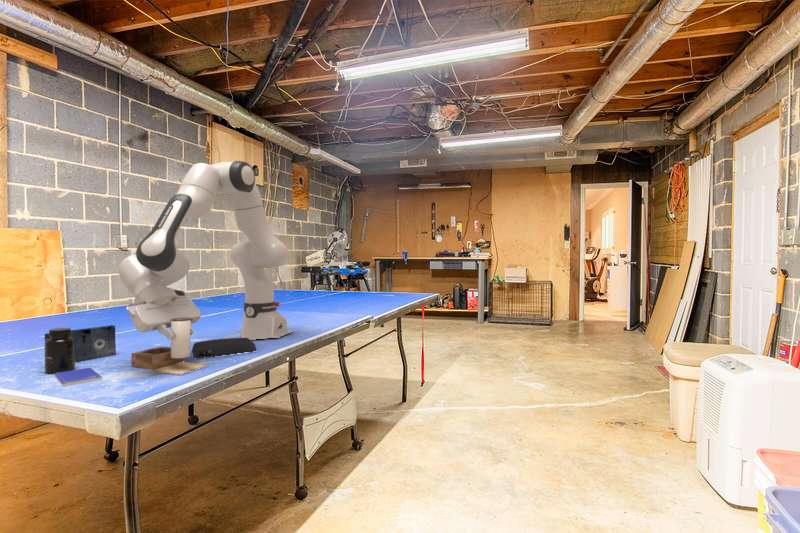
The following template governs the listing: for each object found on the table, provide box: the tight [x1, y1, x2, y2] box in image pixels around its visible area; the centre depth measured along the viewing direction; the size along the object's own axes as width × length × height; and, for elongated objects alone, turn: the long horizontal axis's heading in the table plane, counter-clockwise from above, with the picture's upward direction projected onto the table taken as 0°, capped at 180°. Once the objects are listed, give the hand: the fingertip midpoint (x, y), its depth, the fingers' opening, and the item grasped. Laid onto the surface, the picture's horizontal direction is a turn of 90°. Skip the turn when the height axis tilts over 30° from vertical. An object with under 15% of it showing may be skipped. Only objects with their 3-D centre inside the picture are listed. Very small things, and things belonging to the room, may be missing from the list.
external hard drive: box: [191, 337, 258, 359], centre depth 143 cm, size 13×19×4 cm
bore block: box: [131, 345, 186, 370], centre depth 127 cm, size 10×10×4 cm
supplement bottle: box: [44, 327, 76, 375], centre depth 119 cm, size 7×7×12 cm
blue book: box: [54, 367, 103, 387], centre depth 113 cm, size 2×8×12 cm
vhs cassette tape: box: [44, 324, 117, 364], centre depth 131 cm, size 18×3×10 cm, turn 149°
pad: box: [152, 361, 209, 375], centre depth 122 cm, size 10×10×1 cm
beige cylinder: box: [170, 317, 191, 359], centre depth 121 cm, size 5×5×11 cm
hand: (182, 336), depth 121 cm, fingers closed on beige cylinder, 5 cm apart
